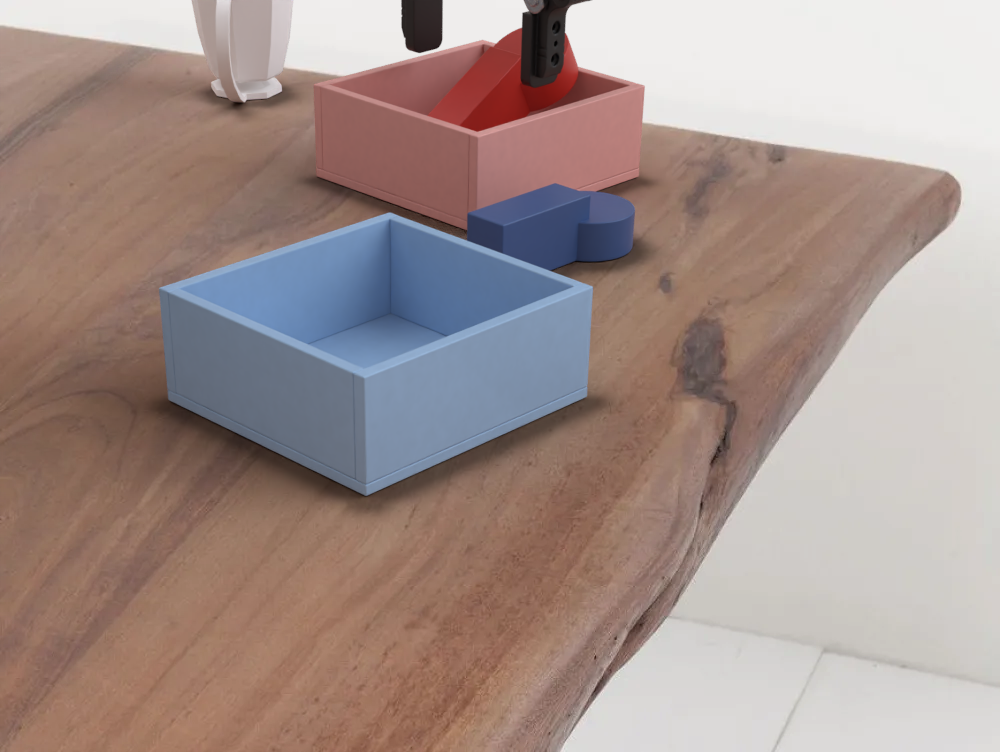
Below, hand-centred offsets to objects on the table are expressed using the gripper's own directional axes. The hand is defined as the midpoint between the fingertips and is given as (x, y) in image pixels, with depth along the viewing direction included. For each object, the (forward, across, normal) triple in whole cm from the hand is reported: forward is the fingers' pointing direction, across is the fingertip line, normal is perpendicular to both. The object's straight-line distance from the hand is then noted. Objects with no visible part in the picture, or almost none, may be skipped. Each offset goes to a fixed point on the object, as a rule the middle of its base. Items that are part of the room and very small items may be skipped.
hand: (480, 66), depth 101 cm
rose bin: (+6, 0, 0) cm, 6 cm away
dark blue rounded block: (+6, +11, -6) cm, 14 cm away
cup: (+6, -20, 0) cm, 21 cm away
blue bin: (+6, +17, -24) cm, 30 cm away
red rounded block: (+3, 0, +2) cm, 4 cm away
